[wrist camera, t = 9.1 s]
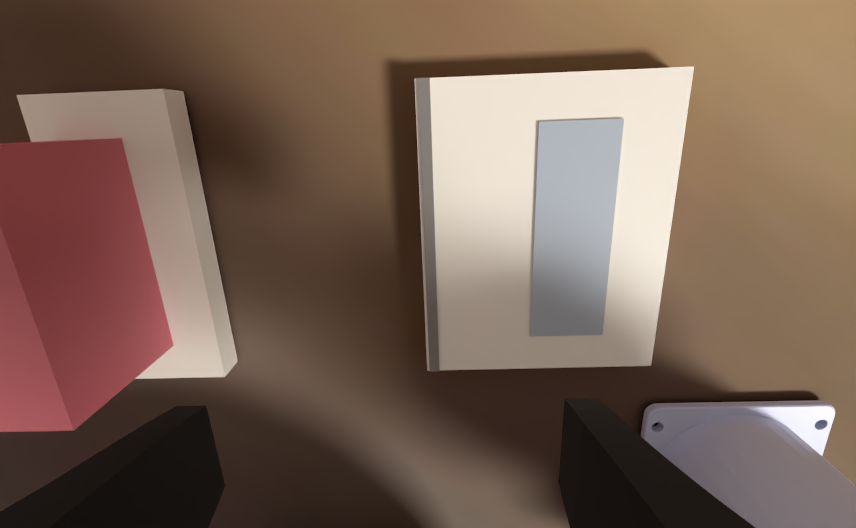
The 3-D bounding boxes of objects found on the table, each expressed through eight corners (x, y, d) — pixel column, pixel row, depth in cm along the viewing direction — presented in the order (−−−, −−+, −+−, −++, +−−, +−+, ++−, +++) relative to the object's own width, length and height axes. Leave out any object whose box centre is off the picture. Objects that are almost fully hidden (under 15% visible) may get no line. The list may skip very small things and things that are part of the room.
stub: (237, 361, 19) (146, 470, 13) (125, 364, 19) (-15, 473, 13) (183, 91, 15) (25, 72, 9) (47, 96, 16) (-191, 82, 10)
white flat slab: (637, 350, 18) (652, 367, 17) (427, 355, 19) (427, 372, 17) (674, 70, 15) (695, 66, 14) (416, 81, 15) (414, 78, 14)
